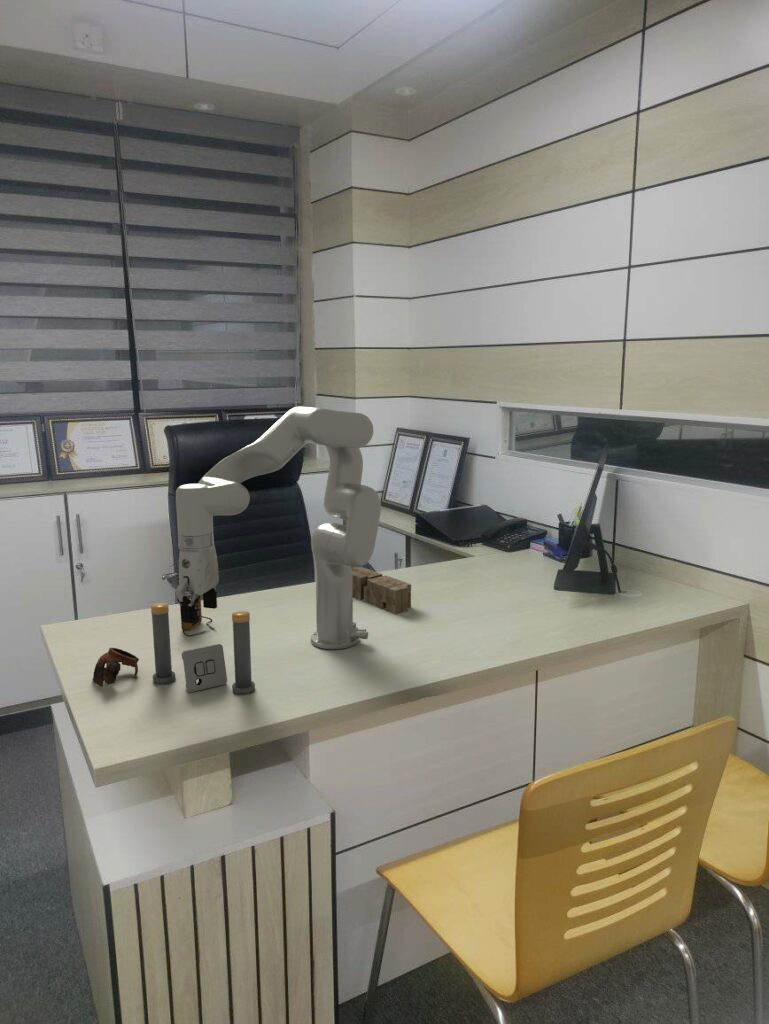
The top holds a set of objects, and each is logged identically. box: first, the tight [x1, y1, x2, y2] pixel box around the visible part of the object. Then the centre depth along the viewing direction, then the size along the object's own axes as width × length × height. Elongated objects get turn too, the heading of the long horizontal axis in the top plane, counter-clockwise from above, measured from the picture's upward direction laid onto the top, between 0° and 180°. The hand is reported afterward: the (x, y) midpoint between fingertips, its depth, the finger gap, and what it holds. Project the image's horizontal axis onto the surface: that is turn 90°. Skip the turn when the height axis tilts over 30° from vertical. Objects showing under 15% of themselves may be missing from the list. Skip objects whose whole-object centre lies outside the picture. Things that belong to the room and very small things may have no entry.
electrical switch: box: [181, 643, 228, 693], centre depth 168 cm, size 9×5×9 cm, turn 121°
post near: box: [231, 610, 256, 696], centre depth 164 cm, size 5×5×18 cm
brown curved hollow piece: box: [92, 647, 140, 687], centre depth 170 cm, size 12×10×8 cm
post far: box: [150, 602, 176, 686], centre depth 169 cm, size 5×5×18 cm
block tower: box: [351, 566, 412, 615], centre depth 227 cm, size 8×8×29 cm
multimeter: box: [177, 564, 218, 637], centre depth 202 cm, size 15×10×20 cm
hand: (199, 614), depth 165 cm, fingers open, 9 cm apart
